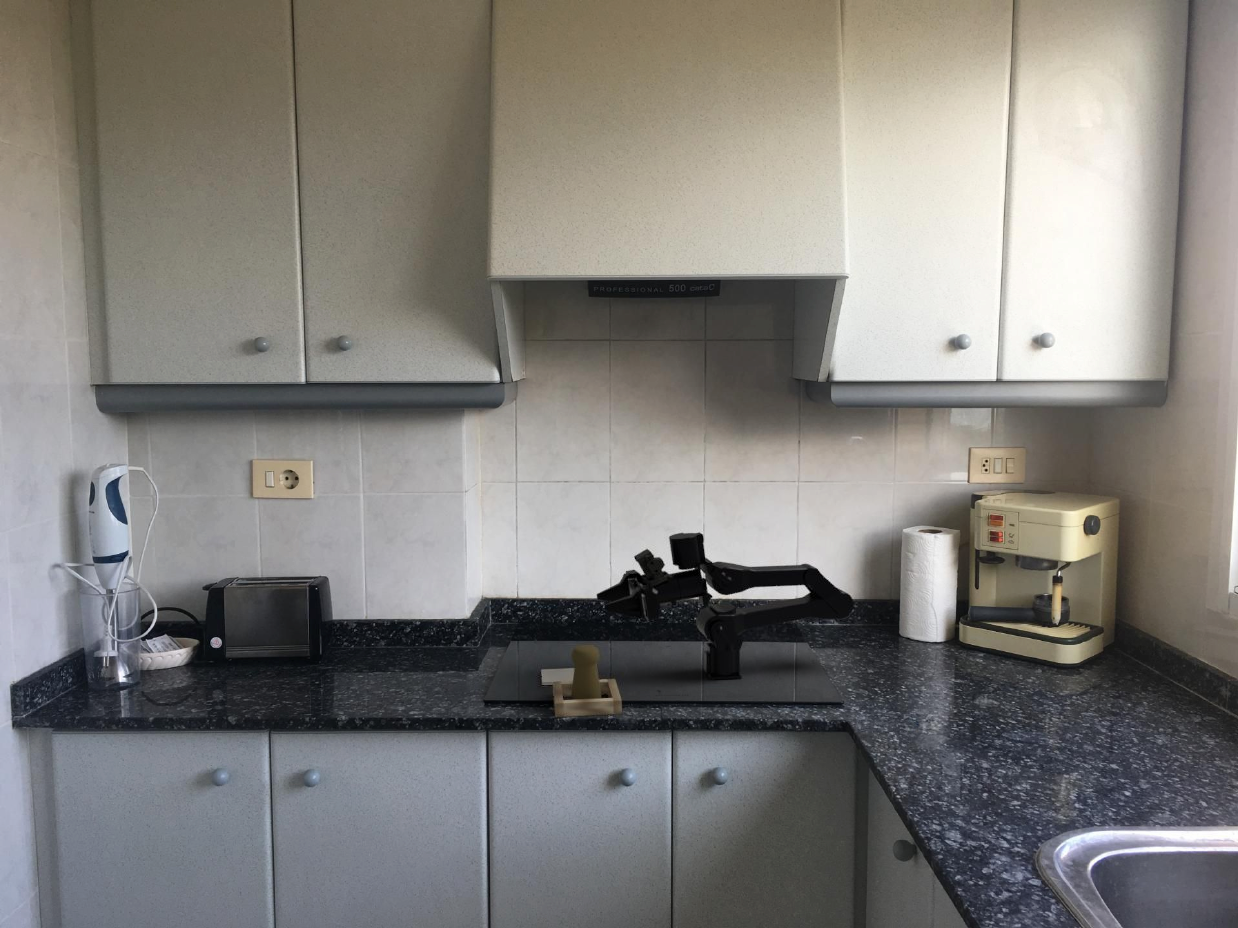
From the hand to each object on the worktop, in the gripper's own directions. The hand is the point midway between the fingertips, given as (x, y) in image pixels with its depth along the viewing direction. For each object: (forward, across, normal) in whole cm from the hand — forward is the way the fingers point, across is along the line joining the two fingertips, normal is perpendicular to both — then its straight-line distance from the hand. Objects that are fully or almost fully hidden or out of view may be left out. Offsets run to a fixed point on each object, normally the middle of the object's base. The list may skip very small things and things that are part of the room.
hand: (600, 602), depth 178 cm
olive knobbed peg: (+7, +11, +16) cm, 20 cm away
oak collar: (+7, +11, +16) cm, 20 cm away
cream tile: (+10, -5, +15) cm, 19 cm away
